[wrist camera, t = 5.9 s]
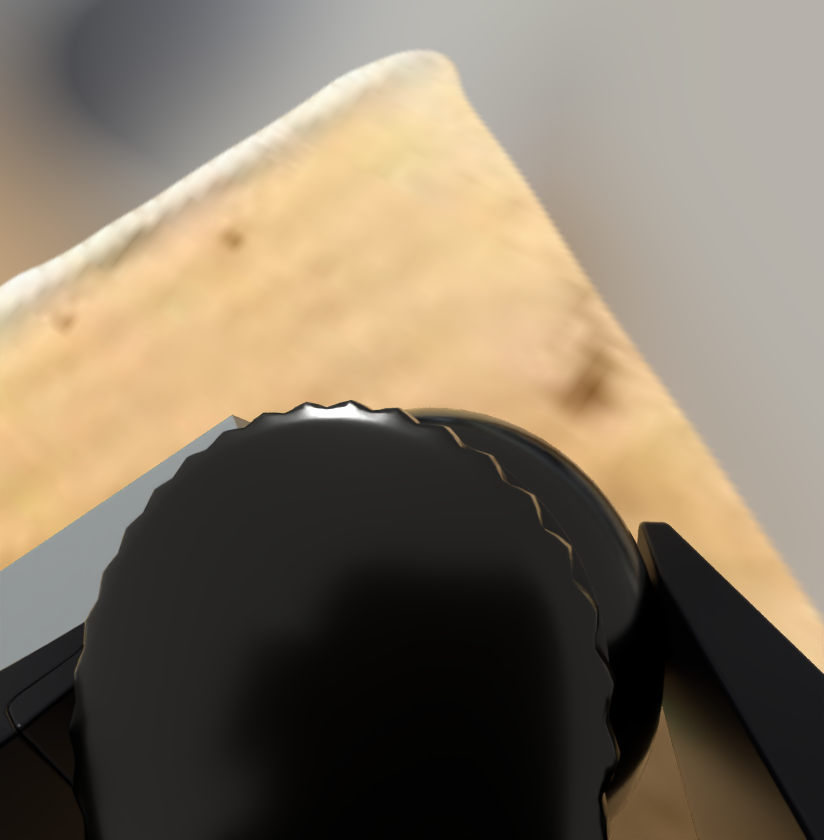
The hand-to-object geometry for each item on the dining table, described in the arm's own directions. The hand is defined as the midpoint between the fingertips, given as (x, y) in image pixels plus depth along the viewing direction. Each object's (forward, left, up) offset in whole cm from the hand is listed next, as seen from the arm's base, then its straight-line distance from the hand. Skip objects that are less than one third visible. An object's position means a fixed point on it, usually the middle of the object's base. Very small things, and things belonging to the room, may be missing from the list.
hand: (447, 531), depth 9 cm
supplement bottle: (-1, +1, -7) cm, 7 cm away
